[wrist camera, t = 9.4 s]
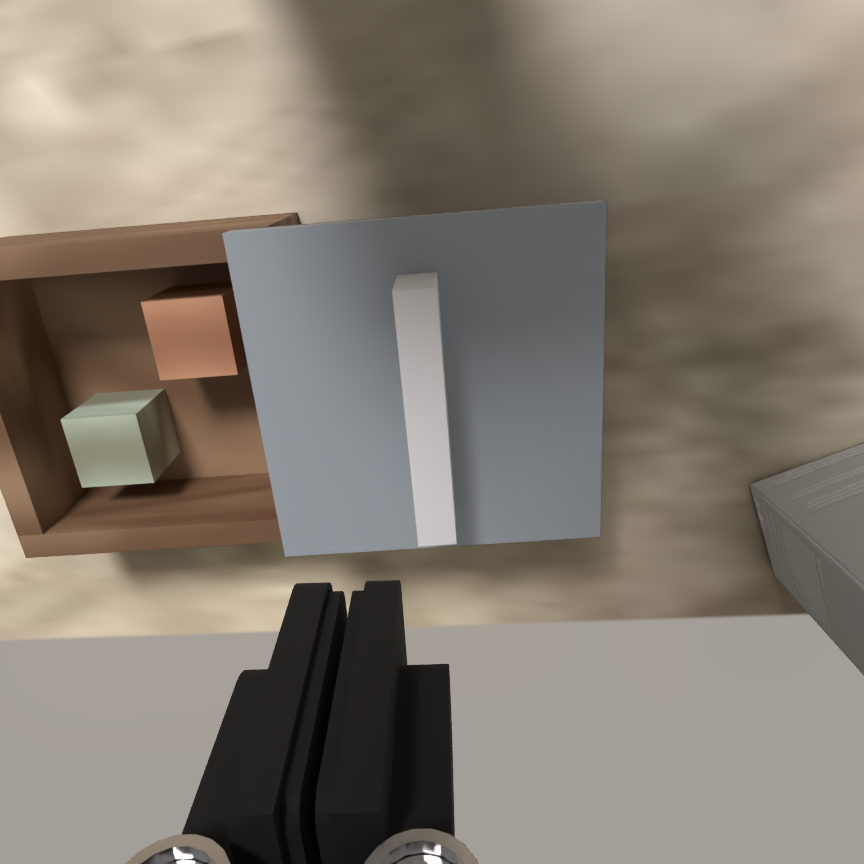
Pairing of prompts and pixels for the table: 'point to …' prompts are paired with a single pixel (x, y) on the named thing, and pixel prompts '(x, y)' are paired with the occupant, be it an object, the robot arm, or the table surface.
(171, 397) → the box
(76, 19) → the table surface
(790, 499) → the skincare box
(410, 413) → the cover
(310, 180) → the table surface
